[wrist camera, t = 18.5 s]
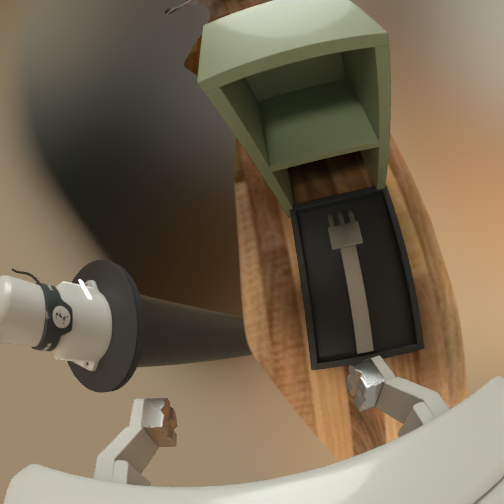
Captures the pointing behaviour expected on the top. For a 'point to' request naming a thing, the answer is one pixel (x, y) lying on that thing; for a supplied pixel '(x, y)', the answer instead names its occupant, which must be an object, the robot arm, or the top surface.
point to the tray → (373, 273)
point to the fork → (353, 276)
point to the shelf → (301, 85)
